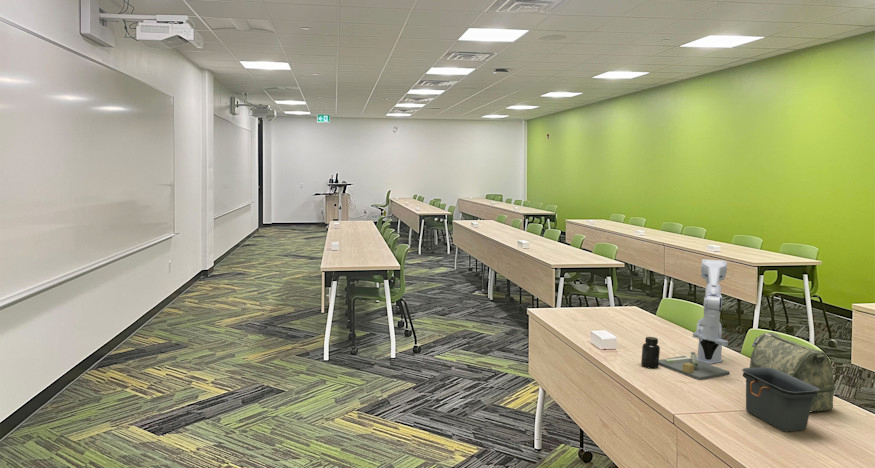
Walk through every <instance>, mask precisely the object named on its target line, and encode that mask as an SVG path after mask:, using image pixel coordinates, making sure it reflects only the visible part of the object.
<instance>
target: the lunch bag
mask: <svg viewBox="0 0 875 468" xmlns="http://www.w3.org/2000/svg"><path fill="white" fill-rule="evenodd" d="M751 347H752V348H753V350H752V352H751V355H750V361H749V362H750V363H749V368H758V367H767V368H773V369H776V370H779V371H781V372H783V373H786V374H788V375H790V376H792V377H795V378H797V379H799V380H801V381H804V382H806V383H808V384H810V385H812V386H815V387H817V388H819V389H820V390H819V391H817V394H818V396H817V397H813V400H812V404H811V409H810V411H817V412H823V410H824V411H831V410H833V409H834V393H835V390H836V386H835V381H834V374H833V373H834V372H833V369H832V364H831V360H830V358H829V356H828V355H827V354H826V353H825V352H824V351H823V350H822V351H821V350H820V349H815V348H811V347H809V346H806V345H803V344H800V343H798V342H795V341H793V340H789V339H786V338H783V337H781V336H780V335H779V334H777V333H776V332H763V333H762V334H760V335H759V336H758V337H757V336H756V337H755V339H754V341H753V343H752V346H751ZM832 408H833V409H832ZM830 409H831V410H830Z"/></svg>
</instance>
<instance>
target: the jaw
mask: <svg viewBox="0 0 875 468" xmlns="http://www.w3.org/2000/svg"><path fill="white" fill-rule="evenodd" d="M696 357H697V355H696V354H695V355H694V354H691V353H690V358H691V361H692V364H694V367H698V360H697V358H696Z"/></svg>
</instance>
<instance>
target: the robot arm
mask: <svg viewBox="0 0 875 468" xmlns="http://www.w3.org/2000/svg"><path fill="white" fill-rule="evenodd" d="M700 267H701V268H700V276H701V278H702V279H703V280H705V283H706V285H705V295H704V298H703V317H702V318H700V319H698V321H697V324H696V331H695V332H692V338H694V339H695V338H696V339H698V348H697V356H696V358H697V361H700V362H703V363H706V364H709V365H711V364H718V363H721V362H723V361H724V360H722V353H723V352H722V350H723V347H728V345H729V340H726V339H723V338H722V335H723V334H722V332H723V331H722V330H723V328H722V326H723V325H722V323H721V322H720V319H721V311H722V309H723V296H722V287H721V286H722V285H720V281H724V280H725V278H726V275H727V270H728V262H727V260H720V259H719V260H718V259H707V258H706V259H705V258H703V259H701V266H700Z"/></svg>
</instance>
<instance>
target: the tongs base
mask: <svg viewBox="0 0 875 468" xmlns="http://www.w3.org/2000/svg"><path fill="white" fill-rule="evenodd" d="M691 354H694V355H696V352H694V351H691V352H690V355H691ZM697 361H698V360H697ZM683 363H691V364H692V361H691V356H690V357H689V356H685V355H683V356H676V357H675V356H674V357H668V358H663V359H659V366H660V367H663V368H665V369H669V370H670V371H673V372H677V373H679V374H682V375H684V376H686V377H690V378H692V379H695V380H697V381H703V380H708V379H714V378H719V377H723V376H728V375H729V376H730V375H731V371H729V370H726V369H723V368H721V367H717V366H714V365H711V364H707V363H704V362H701V361H698V367H694V372H692V373H687V372H685V371H682V370H683Z"/></svg>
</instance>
